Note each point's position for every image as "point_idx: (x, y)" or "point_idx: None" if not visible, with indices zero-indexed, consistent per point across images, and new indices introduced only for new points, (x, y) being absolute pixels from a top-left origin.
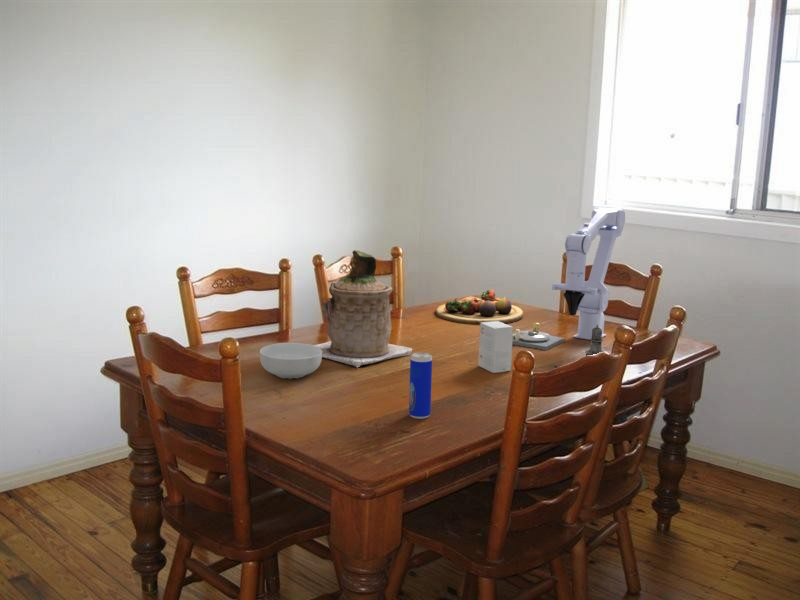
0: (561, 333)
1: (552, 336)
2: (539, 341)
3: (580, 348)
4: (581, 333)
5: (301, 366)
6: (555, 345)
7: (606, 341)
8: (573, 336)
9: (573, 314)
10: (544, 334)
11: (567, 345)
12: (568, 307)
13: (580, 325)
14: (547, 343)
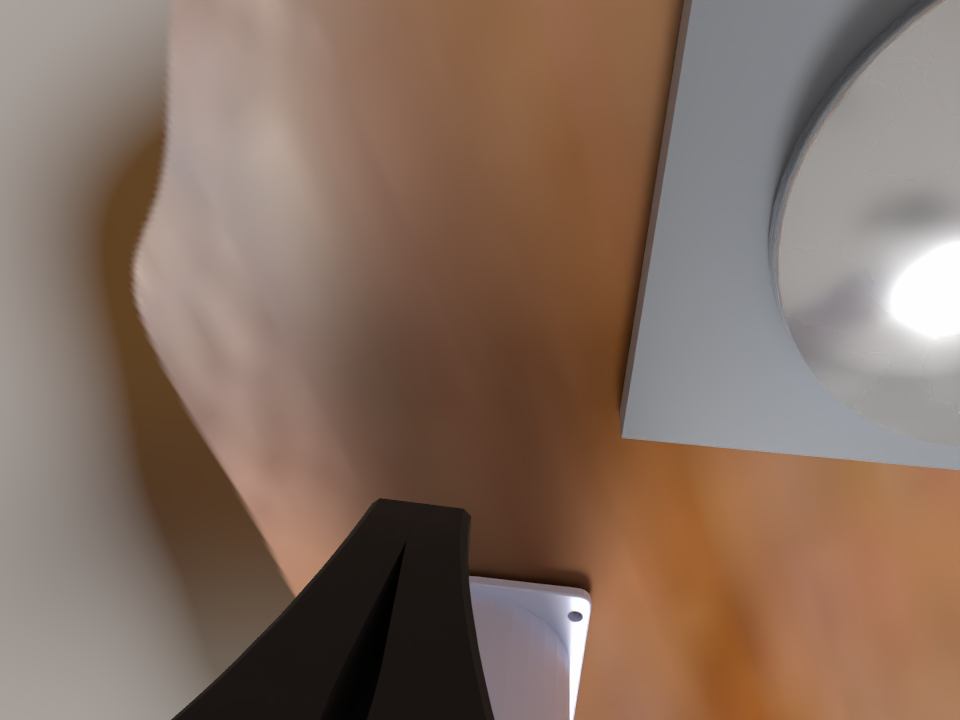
0: (732, 659)
1: (769, 434)
2: (889, 27)
3: (361, 247)
4: (508, 626)
5: None
6: (654, 189)
7: (296, 596)
8: (585, 593)
9: (368, 512)
10: (874, 335)
11: (533, 289)
12: (471, 636)
13: (524, 707)
14: (748, 49)
